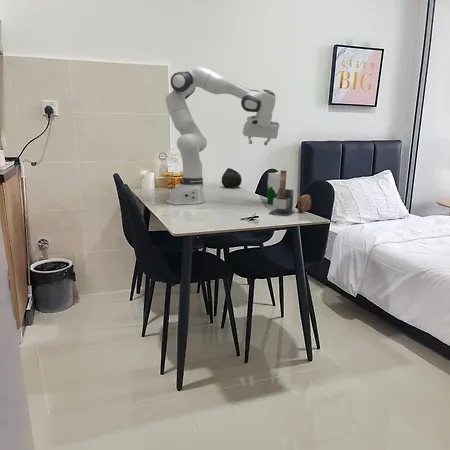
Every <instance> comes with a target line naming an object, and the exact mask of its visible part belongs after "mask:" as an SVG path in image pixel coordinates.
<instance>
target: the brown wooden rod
mask: <svg viewBox="0 0 450 450" xmlns="http://www.w3.org/2000/svg"><path fill="white" fill-rule="evenodd" d="M279 172H280V190H279V199H285V190H286V189H287V172H288V171H287V170H280V171H279Z"/></svg>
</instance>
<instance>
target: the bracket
mask: <svg viewBox="0 0 450 450" xmlns="http://www.w3.org/2000/svg"><path fill="white" fill-rule="evenodd" d="M279 190H280V189H278V197H276V198H274V199H273V204H272V207H273V208H274V210H272V211H269V212H268V214H269V215H274V216H283V217H289V216H291V215H292V214H294V213H296V211H295V210H293V208H294V207H293V205H294V191H295V190H294V189H291V188H289V189H288V188H286V190H285V199H279Z"/></svg>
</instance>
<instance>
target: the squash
mask: <svg viewBox="0 0 450 450" xmlns="http://www.w3.org/2000/svg"><path fill="white" fill-rule="evenodd" d="M242 180H243V179H242V176H241V174H240V172H238V171H237V170H235V169H233V168H231V167H230V168H229V167H228V168H227V169H226V170H225V171H224V173H223V174H222V177H221V184H222V186H223V187H224V188H226V189H227V188H228V189H235V188H238V187H240V186H241V185H242Z"/></svg>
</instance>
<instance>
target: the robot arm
mask: <svg viewBox="0 0 450 450" xmlns="http://www.w3.org/2000/svg"><path fill="white" fill-rule="evenodd" d="M170 86H171V88H172V89H173V90H172V91H171V92H169V93H168V94H167V95H166V96H165V104H166V107H167V111H168V113H169V116H170V119H171V121H172V123H173V126H174V128H175V129H176V131H178V132H179V134H180V136H179V137H178V139H177V141H176V146H177V149H178V150H179V152H180V157H181V163H182V177H177V178H176V180H177V182H179V184H178V185H177V186H176V187H174V188H173V189H172V190H171V191H170V192H169V193H170V194H169V198H166V200H165V202H166V203H167V204H169V205H175V206H176V205H177V206H179V205H200V204H202V203H204V202H206V200H205V197H204V191H203V186H204V181H203V180H204V179H203V163H202V161H201V158H200V152H203V151H204V150H205V149H206V148H207V144H208V142H207V138H206V137H205V136H204V135H203V133H202V132H201V130H200V129H199V127H198V125H197V124H196V123H195V120H194V119H193V117H192V114H191V112H190V111H191V110H190V109H189V107H188V105H187V102H186V100H187V99H188V98H189V97H190V96H191V95H192V94H193V93H194V92H195V90H196V88H201V89H202V90H204V91H206V92H208V93H210V94H214V95H225V94H226V95H231V96H234V97H236V98H239V99H240V100H241V101H240V105H241V109H243V110H244V111H245V112H250V113H255V114H256V115H252V116H248V117H246V122H245V123H244V124H243V125H244V126H243V129H242V135H244V137H247V139H248V145H252V144H253V140H251V139H252V138H262V139H263V138H265V139H266V140H265V141H264V142H263V145H264V146H268V144H269V142H270V141H271V139H277V138H278V135H279V130H280V123H279V122H278V121H272V118H273V112H274V109H275V106H276V94H275V93H274V92H273V91H271V90H270V89H269V90H268V89H262V90H257V89H248V88H246V87H244V86H242V85H239V84H237V83H235V82H232V81H231V80H229V79H227V78H226V77H225V76H223V75H221V74H219V73H218V72H216V71H214V70H212V69H209V68H208V67H204V66H201V65H197V66H194V67H193V69H191V71H177V72H175V73H173V74H172V75H171V77H170Z"/></svg>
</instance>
